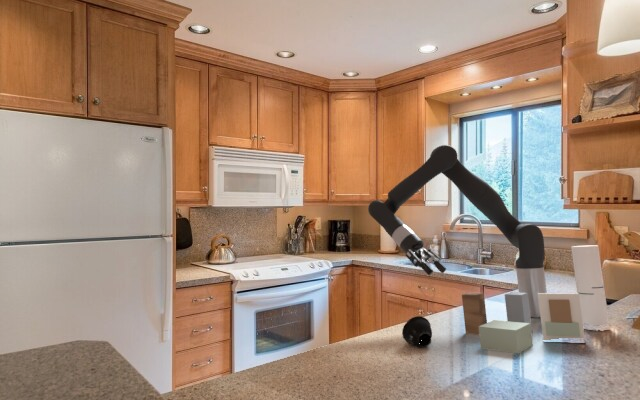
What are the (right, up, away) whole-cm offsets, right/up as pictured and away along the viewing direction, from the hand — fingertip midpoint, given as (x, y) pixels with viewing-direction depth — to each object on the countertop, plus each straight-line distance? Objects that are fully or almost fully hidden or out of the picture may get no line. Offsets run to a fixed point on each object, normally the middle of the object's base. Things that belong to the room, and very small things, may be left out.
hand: (438, 272), depth 143 cm
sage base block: (+10, -15, -29) cm, 35 cm away
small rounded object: (-11, -18, -18) cm, 28 cm away
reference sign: (+27, -14, -28) cm, 41 cm away
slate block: (+21, -16, -16) cm, 31 cm away
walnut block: (+9, -17, -10) cm, 22 cm away
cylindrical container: (+43, -15, -16) cm, 48 cm away
